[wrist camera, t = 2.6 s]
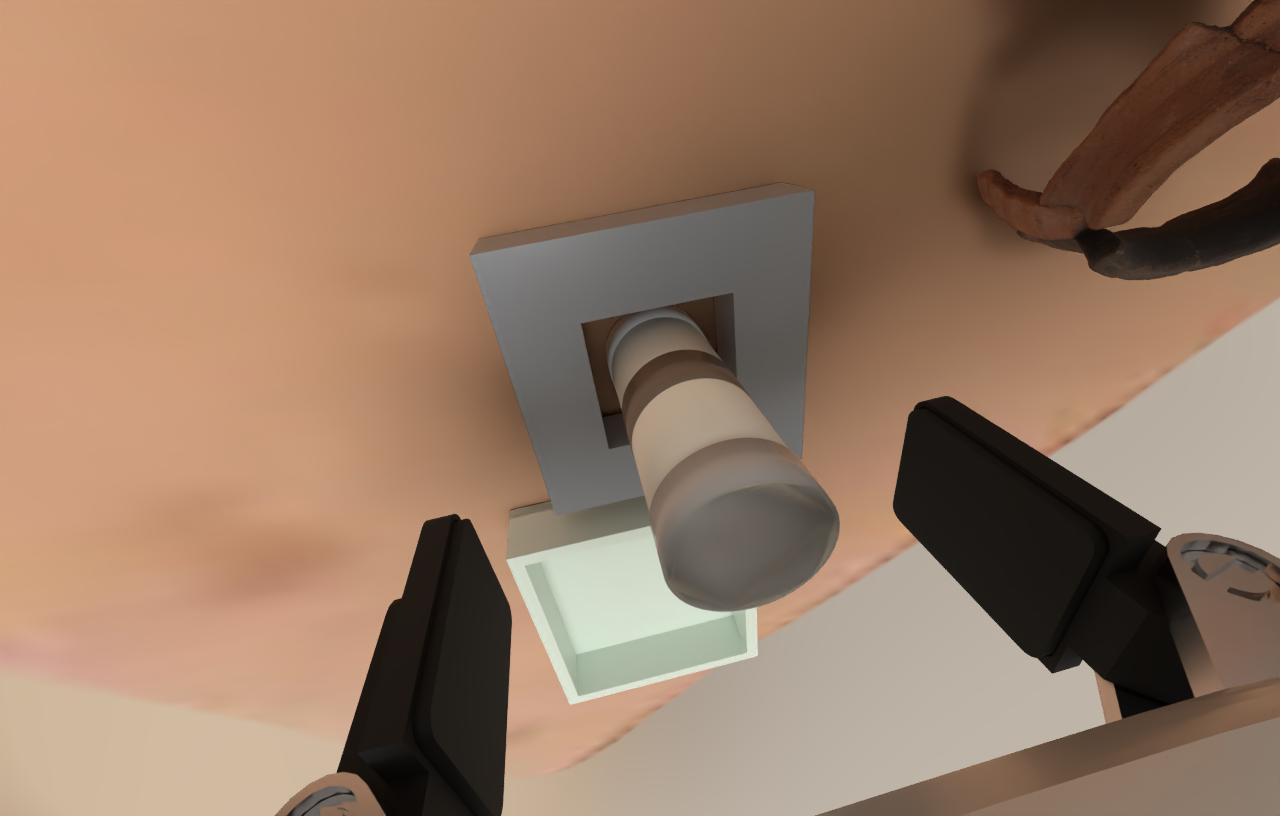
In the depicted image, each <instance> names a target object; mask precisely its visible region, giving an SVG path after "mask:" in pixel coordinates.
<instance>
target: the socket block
mask: <svg viewBox="0 0 1280 816" xmlns="http://www.w3.org/2000/svg"><path fill="white" fill-rule="evenodd" d="M814 198H815V190H812V189H808V188H804V187H800V186H795V185H791V184H787V183H783V182H781V183H776V184H771V185H765V186H760V187H755V188H749V189H744V190H738V191H733V192H728V193H722V194H717V195H712V196H706V197H701V198H696V199H690V200H685V201H680V202H674V203H669V204H664V205H658V206H653V207H647V208H642V209H637V210H631V211H626V212H621V213H615V214H610V215H605V216H599V217H594V218H589V219H583V220H578V221H573V222H567V223H562V224H556V225H551V226H546V227H540V228H535V229H530V230H524V231H519V232H514V233H508V234H503V235H498V236H492V237H487V238H482V239H479V240H478V241H477V243H476V245H475V247H474V248H473V250H472V252H471V253H470V255H469V256H470V259H471V262H472V265H473V268H474V271H475V274H476V277H477V280H478V283H479V286H480V289H481V292H482V295H483V298H484V301H485V304H486V307H487V310H488V313H489V316H490V319H491V322H492V325H493V328H494V331H495V334H496V337H497V340H498V343H499V346H500V349H501V352H502V355H503V358H504V361H505V364H506V367H507V370H508V373H509V376H510V379H511V382H512V385H513V388H514V391H515V394H516V397H517V400H518V403H519V406H520V409H521V412H522V415H523V418H524V421H525V424H526V427H527V430H528V433H529V436H530V439H531V442H532V445H533V448H534V451H535V454H536V457H537V460H538V463H539V466H540V469H541V472H542V475H543V478H544V482H545V485H546V488H547V491H548V494H549V497H550V500H551V503H552V506H553V509H554V512H555V515H556V516H558V515H562V514H567V513H571V512H575V511H580V510H584V509H588V508H593V507H597V506H601V505H606V504H610V503H614V502H619V501H623V500H627V499H632V498H636V497H640V496H645V495H644V491H643V488H642V484H641V480H640V477H639V473H638V469H637V465H636V462H635V460H634V457H633V454H632V450H631V446H630V443H629V439H628V435H627V432H626V428H625V424H624V420H623V417H622V413H620V414H615V415H611V416H606V417H602V413H601V408H600V404H599V399H598V395H597V391H596V386H595V382H594V377H593V373H592V368H591V364H590V359H589V355H588V350H587V346H586V342H585V337H584V333H583V328H582V324H581V323H586V322H591V321H595V320H600V319H605V318H610V317H615V316H620V315H625V314H630V313H635V312H640V311H645V310H650V309H655V308H660V307H665V306H669V305H674V304H679V303H684V302H689V301H694V300H699V299H704V298H709V297H714V310H715V326H716V341H717V355H718V356H719V357H720V359H721V360H722V361H723V362H724V363H725V365H726V366H727V367H728V368H729V369H730V370H731V372H732V373H733V374H734V376H735V377H736V378H737V380H738V381H739V382H740V384H741V385H742V386H743V388H744V389H745V390H746V392H747V393H748V394H749V395H750V397H751V398H752V400H753V401H754V403H755V405H756V406H757V407H758V409H759V410H760V411H761V413H762V414H763V415H764V417H765V418H766V419H767V421H768V422H769V423H770V425H771V426H772V427H773V429H774V430H775V431H776V433H777V434H778V435H779V437H780V438H781V439H782V441H783V442H784V443H785V444H786V446H787V447H788V448H789V449H790V450H791V451H792V452H794V453H795V454H796V455H797V456H798V457H799V459H802V444H803V424H804V403H805V383H806V362H807V342H808V321H809V300H810V280H811V259H812V239H813V218H814Z"/></svg>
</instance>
